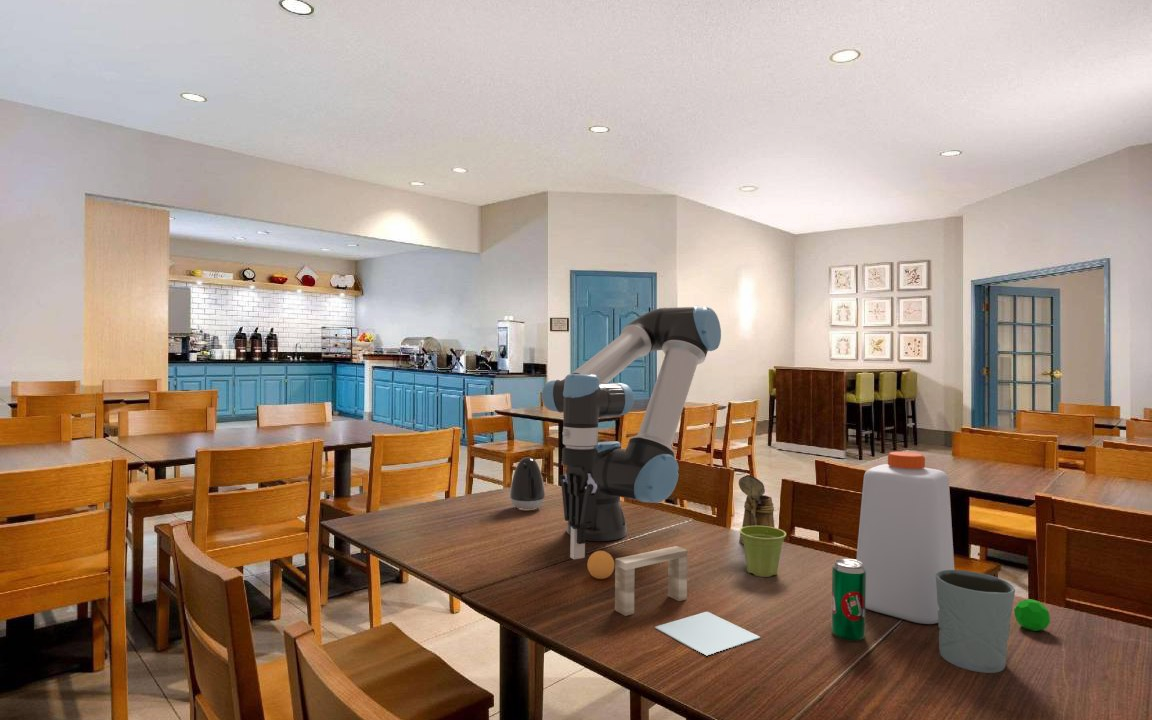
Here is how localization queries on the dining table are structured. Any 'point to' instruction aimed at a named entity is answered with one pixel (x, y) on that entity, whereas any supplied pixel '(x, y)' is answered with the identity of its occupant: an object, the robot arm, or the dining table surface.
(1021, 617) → the polyhedron
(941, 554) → the plastic bottle
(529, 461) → the black rounded dome
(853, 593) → the soda can
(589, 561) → the ball
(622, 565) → the bridge
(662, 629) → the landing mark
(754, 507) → the wooden mug
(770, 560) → the plant pot
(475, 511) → the dining table surface
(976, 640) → the grey cup
